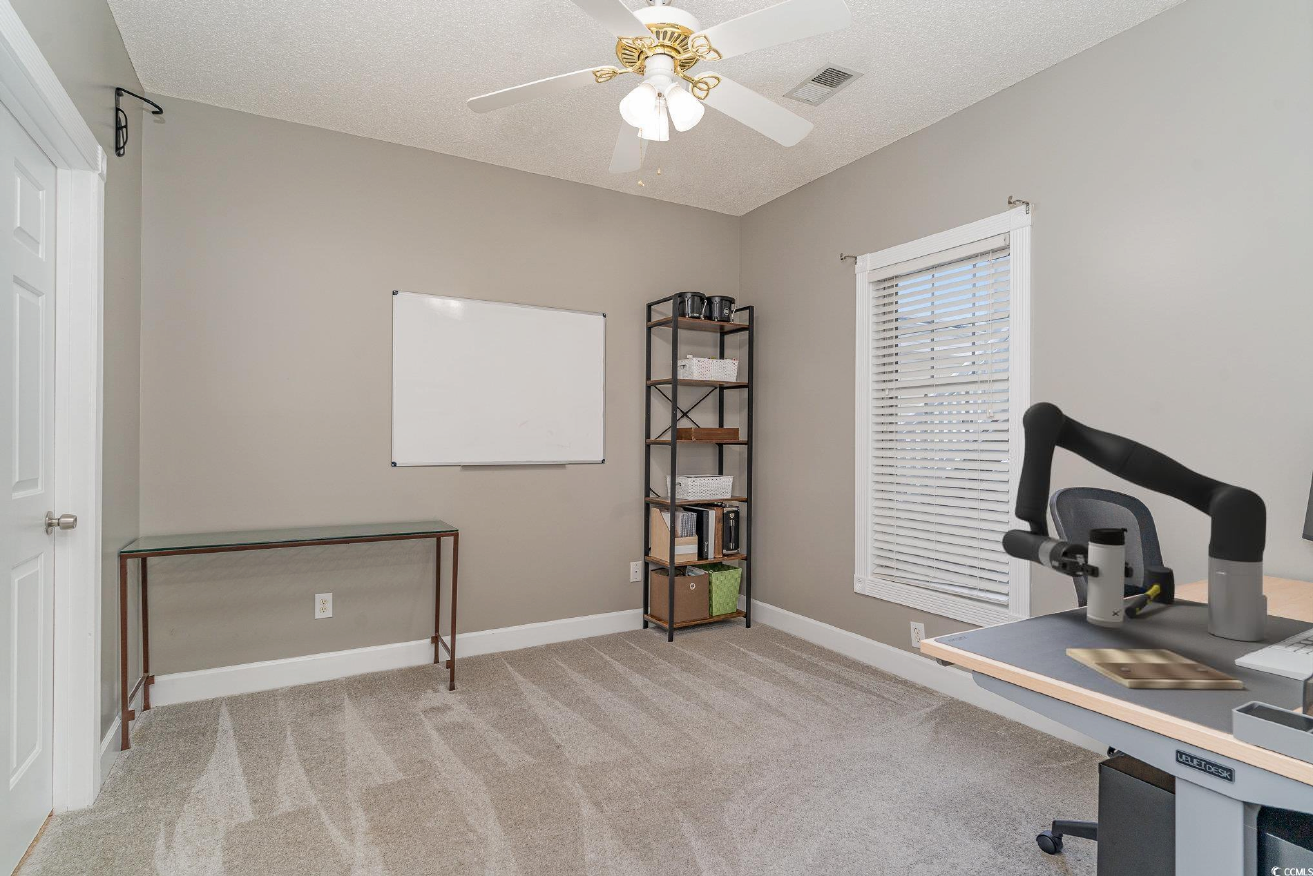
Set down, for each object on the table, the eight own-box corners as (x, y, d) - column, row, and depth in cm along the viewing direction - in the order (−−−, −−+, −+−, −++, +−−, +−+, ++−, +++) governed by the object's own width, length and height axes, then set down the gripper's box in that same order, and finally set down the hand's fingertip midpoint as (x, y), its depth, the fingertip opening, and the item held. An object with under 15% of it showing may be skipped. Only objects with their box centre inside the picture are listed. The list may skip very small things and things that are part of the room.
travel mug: (1126, 629, 134) (1128, 530, 134) (1086, 624, 138) (1089, 527, 137) (1124, 622, 139) (1126, 526, 139) (1086, 617, 143) (1088, 523, 142)
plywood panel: (1164, 655, 135) (1165, 647, 135) (1242, 689, 117) (1242, 679, 117) (1066, 654, 135) (1066, 646, 135) (1128, 688, 117) (1128, 679, 117)
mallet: (1144, 621, 161) (1145, 582, 161) (1115, 616, 166) (1116, 577, 166) (1177, 603, 180) (1178, 567, 180) (1150, 598, 184) (1151, 564, 184)
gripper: (1033, 540, 153) (1078, 554, 136) (1096, 541, 152) (1150, 554, 136) (1032, 572, 153) (1078, 590, 136) (1096, 573, 153) (1149, 591, 136)
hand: (1113, 572), depth 136 cm, fingers closed on travel mug, 6 cm apart
